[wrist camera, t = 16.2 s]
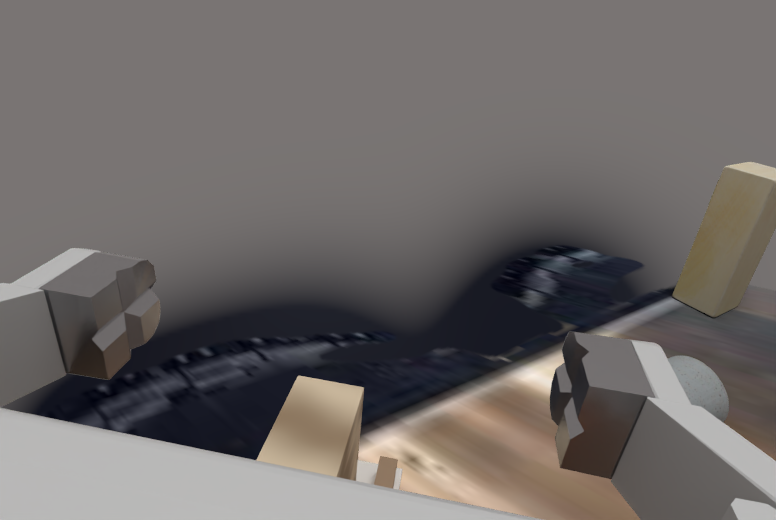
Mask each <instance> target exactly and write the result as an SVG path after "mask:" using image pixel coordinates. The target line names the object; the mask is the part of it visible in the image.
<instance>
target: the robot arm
mask: <svg viewBox="0 0 776 520" xmlns="http://www.w3.org/2000/svg"><path fill="white" fill-rule="evenodd" d="M155 282H156V276H155V271H154V266H153V265H152V264H151V263H150V262H149V261H148V260H143V259H138V258H133V257H128V256H122V255H117V254H112V253H106V252H100V251H96V250H89V249H83V248H71V249H69V250H68V251H66V252H64V253H63V254H61V255H59V256H57V257H56V258H54V259H52V260H51V261H49V262H47V263H46V264H44V265H42V266H40V267H39V268H37V269H35V270H34V271H32V272H30V273H28V274H27V275H25V276H23V277H22V278H20V279H18V280H16V281H15V282H13V283H11V284H6V283H0V407H2V406H4V405H6V404H8V403H10V402H12V401H14V400H16V399H18V398H20V397H23V396H24V395H27V394H29V393H31V392H33V391H35V390H37V389H39V388H41V387H43V386H45V385H47V384H49V383H51V382H53V381H55V380H57V379H59V378H61V377H63V376H65V375H66V373H70V374H76V375H82V376H88V377H94V378H100V379H106V380H109V379H110V378H111V377H112V376H113V375H114V374H115V373H116V372H117V371H118V370H119V369H120V368H121V367H122V366H123V365H124V364H125V363H126V362H127V361H128V360H129V359H130V358H131V351H130V349H133V348H135V347H138V346H140V345H143V344H145V343H146V342H147V341H148V340H149V339H150V338H151V336H152V335H153V334H154V332H155V330H156V328H157V325H158V323H159V319H160V303H159V299H158V298H157V296H156V295H155V294H154V292H153V291H152V290H151V287H152V286H153V285H154V283H155ZM562 352H563V357H564V362H565V363H564V364H562V365H561V366H559V367H558V368H556V370H555V374H554V378H553V381H552V386H551V394H550V410H551V417H552V420H553V421H554V422H555V423H556V424H557V425H558V426H559V427H558V430H557V433H556V436H555V441H556V447H557V453H558V458H559V464H560V468H563V469H568V470H572V471H577V472H581V473H586V474H590V475H595V476H599V477H604V478H608V479H612V480H611V482H612V484H613V485H614V486H615V487H616V489H617V490H618V491H619V492H620V494H621V495H622V496H623V497H624V499H625V500H626V501H627V503H628V504H629V505H630V506H631V508H632V509H633V510H634V511H635V513H636V514H637V515H638V516H639V518H640V519H641V520H776V461H775V460H773V459H772V458H771V457H769V456H768V455H767V454H765V453H764V452H762V451H761V450H760V449H758V448H757V447H756V446H754V445H753V444H752V443H750V442H749V441H747V440H746V439H745V438H743V437H742V436H741V435H739V434H738V433H737V432H735V431H734V430H732V429H731V428H730V427H728V426H727V425H726V424H724V423H723V422H722V421H720V420H719V419H717V418H716V417H715V416H713V415H712V414H711V413H709V412H708V411H706V410H705V409H704V408H702V407H701V406H695V405H691V403H690V401H689V399H688V397H687V395H686V393H685V391H684V390H683V388H682V386H681V384H680V382H679V380H678V378H677V376H676V374H675V373H674V371H673V369H672V367H671V365H670V363H669V361H668V359H667V357H666V356H665V354H664V352H663V350H662V348H661V347H660V346H659V345H658V344H656V343H651V342H643V341H635V340H628V339H620V338H613V337H606V336H599V335H592V334H585V333H577V332H570V331H569V333H568V335H567V337H566V339H565V342H564V345H563V348H562ZM0 520H542V519H537V518H532V517H528V516H523V515H518V514H513V513H508V512H503V511H499V510H494V509H489V508H484V507H479V506H474V505H470V504H465V503H460V502H455V501H450V500H446V499H441V498H436V497H431V496H426V495H421V494H417V493H412V492H407V491H402V490H397V489H392V488H388V487H383V486H378V485H373V484H368V483H363V482H359V481H354V480H349V479H344V478H339V477H334V476H330V475H325V474H320V473H315V472H310V471H305V470H300V469H295V468H290V467H286V466H281V465H276V464H271V463H266V462H261V461H256V460H251V459H246V458H242V457H237V456H232V455H227V454H222V453H217V452H212V451H207V450H202V449H197V448H193V447H188V446H183V445H178V444H173V443H168V442H163V441H158V440H153V439H149V438H144V437H139V436H134V435H129V434H124V433H120V432H115V431H110V430H105V429H100V428H95V427H91V426H86V425H81V424H76V423H71V422H66V421H61V420H57V419H52V418H47V417H42V416H37V415H32V414H28V413H23V412H18V411H13V410H8V409H3V408H0Z"/></svg>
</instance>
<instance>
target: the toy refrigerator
mask: <svg viewBox="0 0 776 520" xmlns="http://www.w3.org/2000/svg"><path fill="white" fill-rule="evenodd" d="M775 229H776V168H773V167H769V166H765V165H761V164H757V163H753V162H746V163H740V164H735V165H729V166H725V168H724V169H723V172H722V174H721V176H720V179H719V180H718V183H717V185H716V188H715V190H714V192H713V195H712V198H711V200H710V202H709V206H708V209H707V211H706V213H705V216H704V218H703V221H702V223H701V226H700V228H699V231H698V233H697V236H696V238H695V241H694V243H693V246H692V248H691V251H690V253H689V256H688V258H687V261H686V263H685V265H684V268H683V270H682V273H681V275H680V278H679V280H678V282H677V285H676V287H675V290H674V292H673V295H672V296H673V297H674V298H676V299H677V300H679V301H681V302H683V303H685V304H687V305H689V306H691V307H693V308H695V309H697V310H699V311H701V312H703V313H705V314H707V315H709V316H711V317H717V316H719V315H721V314H723V313H725V312H727V311H729V310H731V309H733V308H735V307H737V306H738V305H739V303H740V302H741V299H742V297H743V295H744V293H745V291H746V289H747V287H748V285H749V283H750V281H751V279H752V277H753V274H754V272H755V270H756V268H757V266H758V264H759V262H760V260H761V258H762V256H763V254H764V252H765V249H766V247H767V245H768V243H769V241H770V239H771V237H772V235H773V233H774V231H775Z"/></svg>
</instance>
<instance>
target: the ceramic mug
mask: <svg viewBox="0 0 776 520" xmlns="http://www.w3.org/2000/svg"><path fill="white" fill-rule="evenodd" d="M668 361H669V363H670V365H671V367H672V369H673V371H674V373H675V374H676V376H677V378H678V380H679V382H680V384H681V386H682V388H683V390H684V391H685V393H686V395H687V397H688V399H689V401H690V403H691V405H695V406H701V407H702V408H704V409H705V410H706V411H708V412H709V413H711V414H712V415H713V416H715V417H716V418H717V419H719V420H720V421H722V422H724V421H725V419H726V417H727V414H728V411H729V403H728V397H727V393H726V391H725V388H724V386H723V384H722V382H721V381H720V379H719V378H718V376H717V375H716V374H715V373H714V372H713V371H712V370H711V369H710V368H709V367H707V366H706V365H705V364H704V363H702V362H701V361H699V360H697V359H694V358H691V357H688V356H674V357H671V358H668Z"/></svg>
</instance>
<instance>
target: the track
mask: <svg viewBox="0 0 776 520" xmlns="http://www.w3.org/2000/svg"><path fill="white" fill-rule="evenodd" d="M397 461H398V460H397V459H392V458H387V457H382V456H380V460H379V464H375V463H370V462H365V461H360V460H358V462H357V474H356V481H359V482H363V483H368V484H373V485H378V486H383V487H388V488H392V489H397V490H399V487H400V481H401V475H402V469H400V468H397Z"/></svg>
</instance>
